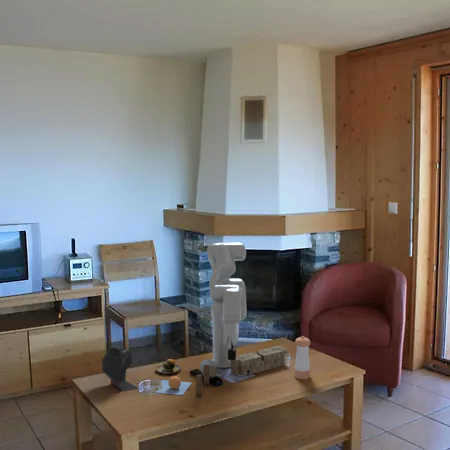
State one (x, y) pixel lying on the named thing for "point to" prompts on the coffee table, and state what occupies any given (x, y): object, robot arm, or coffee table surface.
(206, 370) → the post
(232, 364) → the block tower
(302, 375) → the salt shaker
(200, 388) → the post
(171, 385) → the ball
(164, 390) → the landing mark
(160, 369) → the fruit plate
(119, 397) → the coffee table surface
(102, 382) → the coffee table surface
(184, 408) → the coffee table surface
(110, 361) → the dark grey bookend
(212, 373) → the ceramic mug
